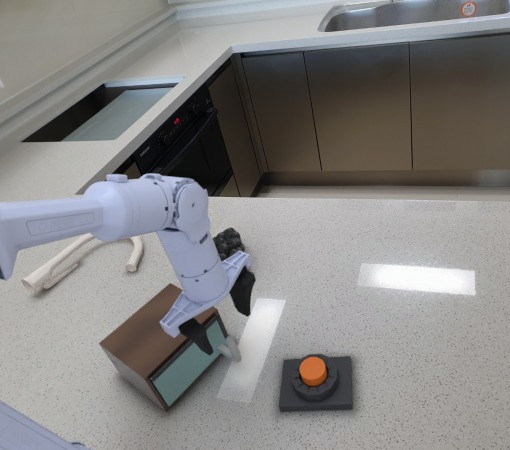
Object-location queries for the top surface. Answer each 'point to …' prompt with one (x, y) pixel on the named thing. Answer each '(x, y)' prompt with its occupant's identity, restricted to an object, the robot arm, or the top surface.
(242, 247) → the fruit
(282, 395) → the switch block
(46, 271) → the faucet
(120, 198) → the robot arm
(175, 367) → the glass door
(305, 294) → the top surface
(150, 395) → the cabinet
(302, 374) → the light button
